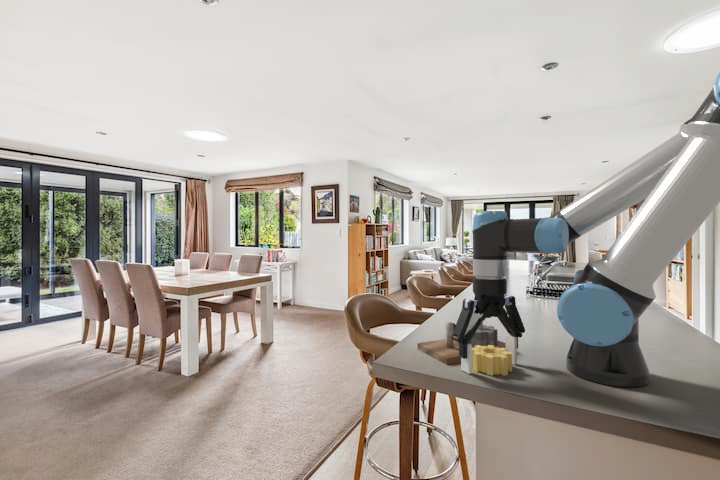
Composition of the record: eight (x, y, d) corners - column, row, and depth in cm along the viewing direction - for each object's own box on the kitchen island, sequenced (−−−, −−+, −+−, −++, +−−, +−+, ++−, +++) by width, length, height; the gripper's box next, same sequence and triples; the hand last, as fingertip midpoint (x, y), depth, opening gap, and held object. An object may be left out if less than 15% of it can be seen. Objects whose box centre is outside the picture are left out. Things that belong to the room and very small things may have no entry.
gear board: (514, 351, 92) (514, 322, 92) (446, 364, 84) (446, 331, 84) (479, 338, 104) (479, 312, 104) (417, 348, 96) (417, 319, 96)
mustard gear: (521, 371, 79) (521, 354, 79) (489, 378, 75) (489, 360, 75) (491, 358, 87) (491, 342, 87) (461, 364, 84) (461, 347, 84)
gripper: (516, 272, 90) (516, 354, 90) (435, 278, 80) (435, 369, 80) (541, 276, 83) (541, 364, 83) (456, 282, 73) (456, 382, 73)
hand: (489, 367), depth 82 cm, fingers open, 13 cm apart
